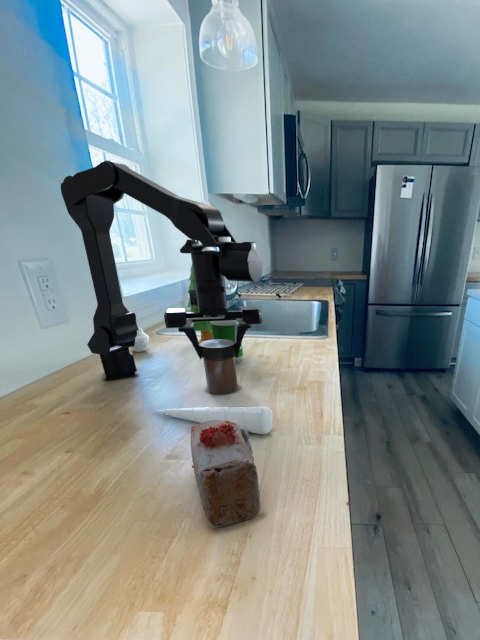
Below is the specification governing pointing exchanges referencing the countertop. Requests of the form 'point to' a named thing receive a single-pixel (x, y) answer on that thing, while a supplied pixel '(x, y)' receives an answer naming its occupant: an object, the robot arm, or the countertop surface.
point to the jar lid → (217, 349)
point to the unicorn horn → (228, 416)
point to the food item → (225, 472)
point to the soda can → (226, 333)
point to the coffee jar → (221, 375)
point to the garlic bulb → (141, 341)
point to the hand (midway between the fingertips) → (219, 357)
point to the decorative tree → (199, 326)
